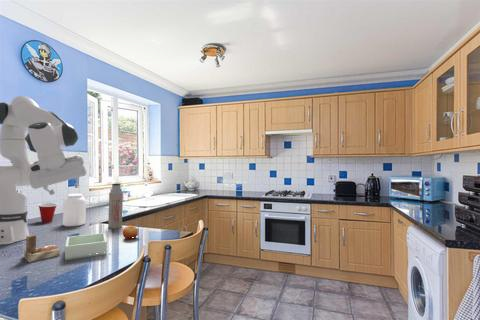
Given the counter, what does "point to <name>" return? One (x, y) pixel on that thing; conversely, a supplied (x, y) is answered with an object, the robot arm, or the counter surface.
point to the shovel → (37, 250)
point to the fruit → (130, 232)
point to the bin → (85, 246)
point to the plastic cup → (47, 211)
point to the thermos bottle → (115, 207)
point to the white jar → (74, 210)
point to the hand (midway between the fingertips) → (65, 190)
